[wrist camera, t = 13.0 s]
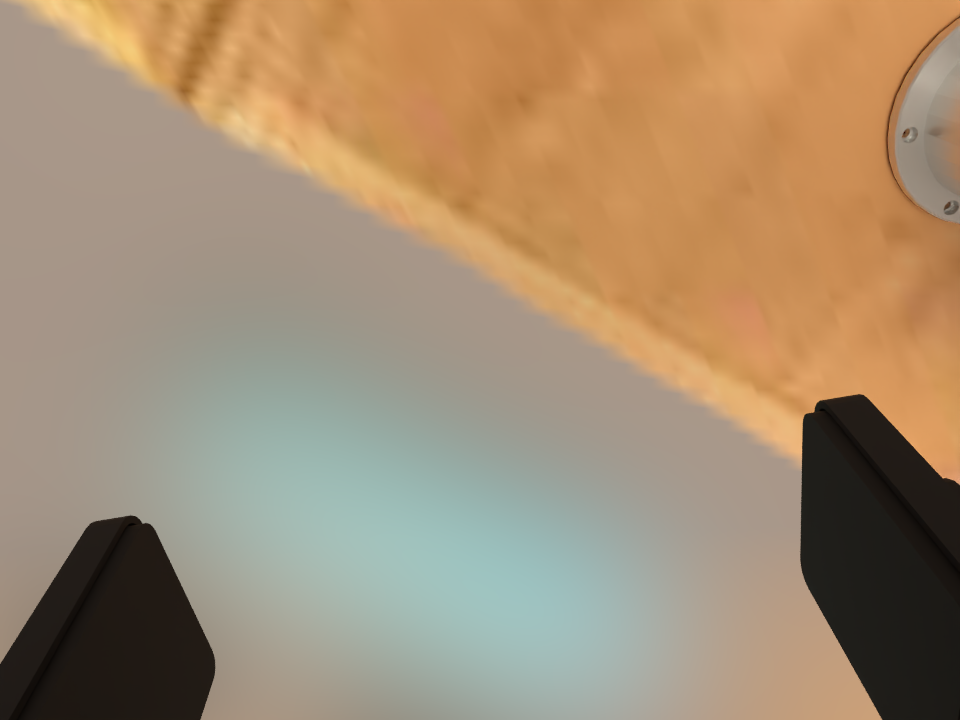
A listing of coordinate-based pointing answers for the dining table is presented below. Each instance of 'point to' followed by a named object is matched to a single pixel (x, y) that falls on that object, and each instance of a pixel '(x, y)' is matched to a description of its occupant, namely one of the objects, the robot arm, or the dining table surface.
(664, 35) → the dining table surface
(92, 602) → the robot arm
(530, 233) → the dining table surface
